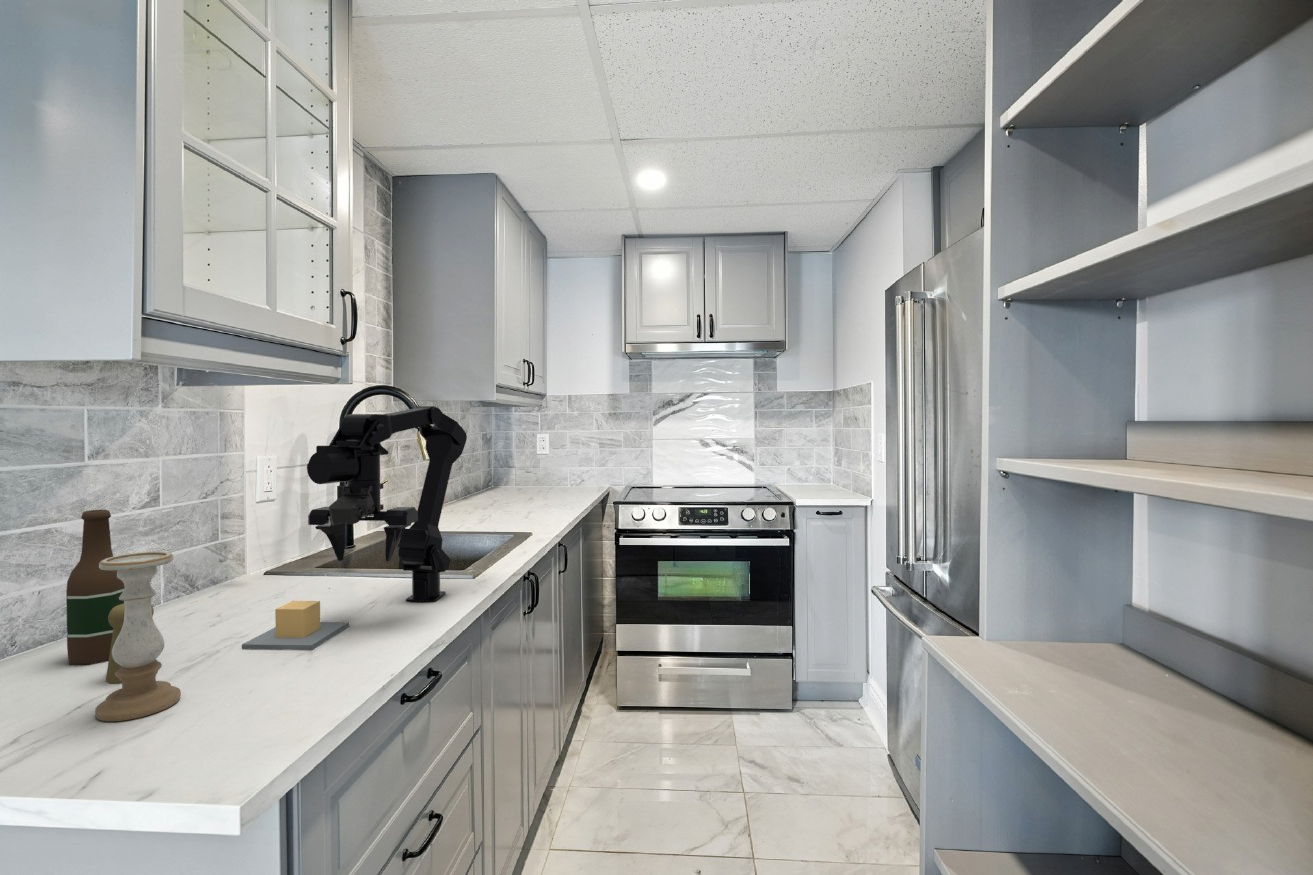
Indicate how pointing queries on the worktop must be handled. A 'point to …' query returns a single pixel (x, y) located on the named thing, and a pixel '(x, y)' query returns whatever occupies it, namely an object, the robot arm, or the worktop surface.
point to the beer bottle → (92, 594)
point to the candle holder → (137, 642)
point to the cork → (116, 622)
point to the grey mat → (308, 642)
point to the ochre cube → (297, 619)
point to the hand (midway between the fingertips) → (364, 560)
